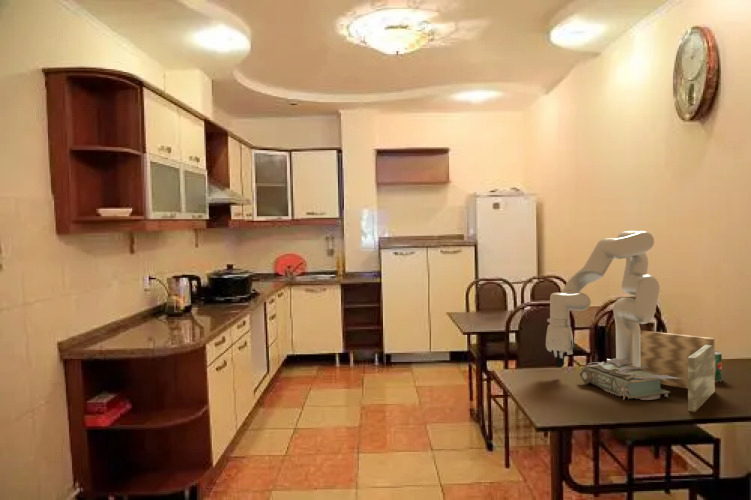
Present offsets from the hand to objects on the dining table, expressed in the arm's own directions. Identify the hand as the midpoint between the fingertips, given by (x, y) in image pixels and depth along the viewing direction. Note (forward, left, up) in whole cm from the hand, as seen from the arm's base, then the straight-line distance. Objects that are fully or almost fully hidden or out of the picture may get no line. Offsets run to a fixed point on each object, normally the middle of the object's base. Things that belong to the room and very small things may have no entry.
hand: (559, 366), depth 215 cm
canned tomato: (+46, +35, -5) cm, 58 cm away
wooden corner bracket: (+39, +4, -5) cm, 39 cm away
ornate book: (+26, +1, -5) cm, 26 cm away
